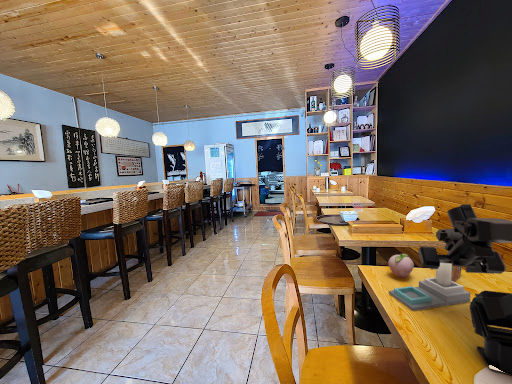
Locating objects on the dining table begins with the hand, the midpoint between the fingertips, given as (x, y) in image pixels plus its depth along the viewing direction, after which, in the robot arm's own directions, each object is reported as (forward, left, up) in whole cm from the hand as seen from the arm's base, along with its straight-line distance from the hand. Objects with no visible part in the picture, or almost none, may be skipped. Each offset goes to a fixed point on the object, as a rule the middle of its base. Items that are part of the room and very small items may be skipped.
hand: (448, 269), depth 70 cm
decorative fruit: (+13, +11, -11) cm, 20 cm away
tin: (+17, -6, -11) cm, 21 cm away
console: (0, +5, -10) cm, 12 cm away
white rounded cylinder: (+3, 0, -7) cm, 8 cm away
